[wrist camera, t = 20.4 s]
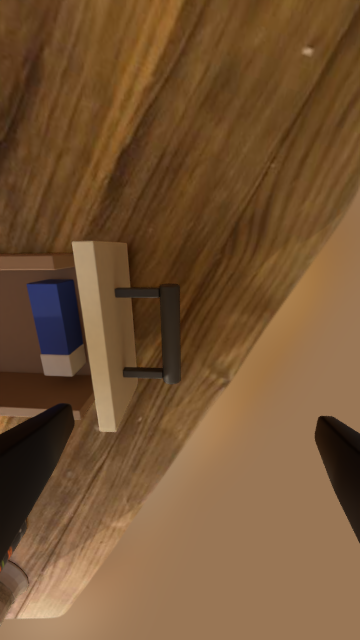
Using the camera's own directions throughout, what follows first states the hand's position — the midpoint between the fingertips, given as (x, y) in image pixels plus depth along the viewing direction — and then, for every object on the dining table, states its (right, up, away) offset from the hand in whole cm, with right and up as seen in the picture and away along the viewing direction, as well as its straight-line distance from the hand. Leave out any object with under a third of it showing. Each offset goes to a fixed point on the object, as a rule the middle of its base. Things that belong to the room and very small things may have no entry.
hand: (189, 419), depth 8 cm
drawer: (-11, +4, +12) cm, 17 cm away
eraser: (-9, +3, +10) cm, 14 cm away
